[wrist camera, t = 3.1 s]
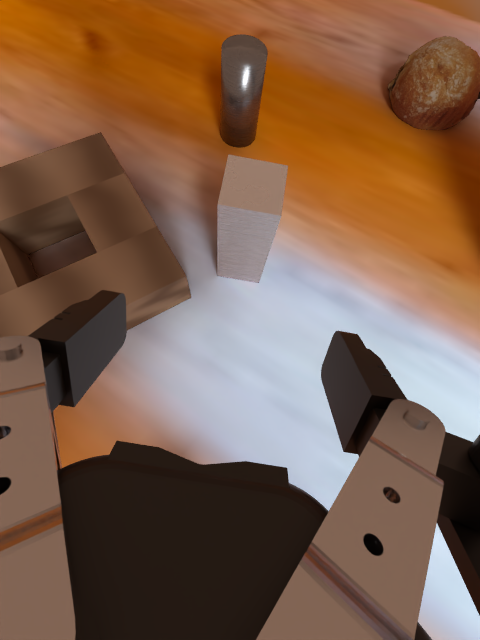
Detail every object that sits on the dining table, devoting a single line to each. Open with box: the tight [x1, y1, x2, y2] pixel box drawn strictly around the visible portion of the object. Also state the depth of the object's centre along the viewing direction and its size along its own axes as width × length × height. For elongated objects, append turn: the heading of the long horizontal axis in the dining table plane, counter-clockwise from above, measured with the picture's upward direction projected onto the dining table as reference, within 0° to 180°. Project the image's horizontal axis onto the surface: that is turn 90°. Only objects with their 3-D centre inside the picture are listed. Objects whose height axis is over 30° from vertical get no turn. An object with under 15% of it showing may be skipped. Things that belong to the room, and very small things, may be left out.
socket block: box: [0, 132, 191, 338], centre depth 24 cm, size 16×16×4 cm
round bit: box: [220, 35, 267, 147], centre depth 29 cm, size 4×4×8 cm
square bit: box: [217, 155, 288, 283], centre depth 23 cm, size 4×4×10 cm
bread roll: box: [388, 36, 480, 130], centre depth 35 cm, size 10×10×8 cm
